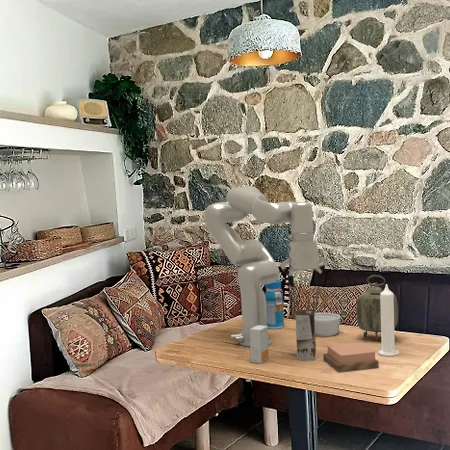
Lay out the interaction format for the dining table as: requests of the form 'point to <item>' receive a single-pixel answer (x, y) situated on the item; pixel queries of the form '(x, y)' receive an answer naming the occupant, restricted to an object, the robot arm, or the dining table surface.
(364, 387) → the dining table surface
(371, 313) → the tabletop clock
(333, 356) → the tower top block
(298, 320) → the coffee box
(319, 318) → the ramekin
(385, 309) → the candle
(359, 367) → the tower base block
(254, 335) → the skincare box
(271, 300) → the beverage bottle
